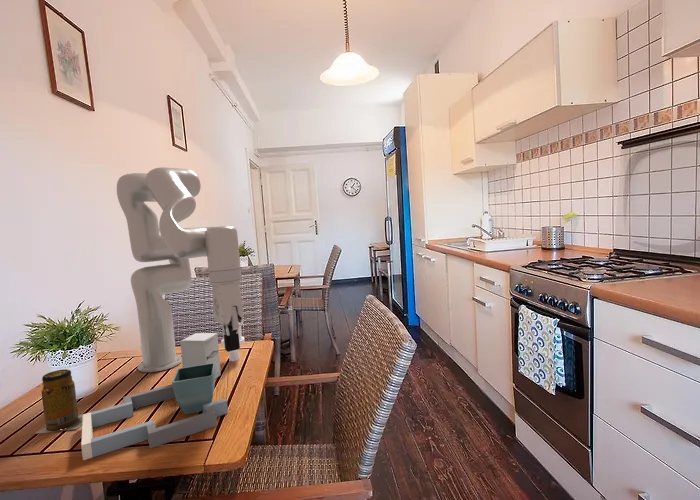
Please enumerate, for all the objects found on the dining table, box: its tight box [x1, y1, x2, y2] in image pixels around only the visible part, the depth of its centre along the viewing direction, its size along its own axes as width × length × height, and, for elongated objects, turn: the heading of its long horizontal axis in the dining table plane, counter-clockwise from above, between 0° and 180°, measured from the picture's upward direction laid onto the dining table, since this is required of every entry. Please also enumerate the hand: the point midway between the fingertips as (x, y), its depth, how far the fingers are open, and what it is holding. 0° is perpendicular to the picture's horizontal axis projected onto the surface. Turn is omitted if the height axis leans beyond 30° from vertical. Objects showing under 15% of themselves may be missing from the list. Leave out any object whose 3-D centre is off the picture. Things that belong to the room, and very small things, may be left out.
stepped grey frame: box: [80, 384, 229, 461], centre depth 87 cm, size 23×28×3 cm
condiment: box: [35, 368, 83, 435], centre depth 87 cm, size 7×8×12 cm
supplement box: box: [179, 332, 221, 380], centre depth 108 cm, size 7×7×13 cm
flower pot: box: [171, 363, 216, 415], centre depth 91 cm, size 9×9×9 cm
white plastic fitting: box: [221, 320, 245, 362], centre depth 122 cm, size 7×7×15 cm
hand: (232, 349), depth 95 cm, fingers closed
